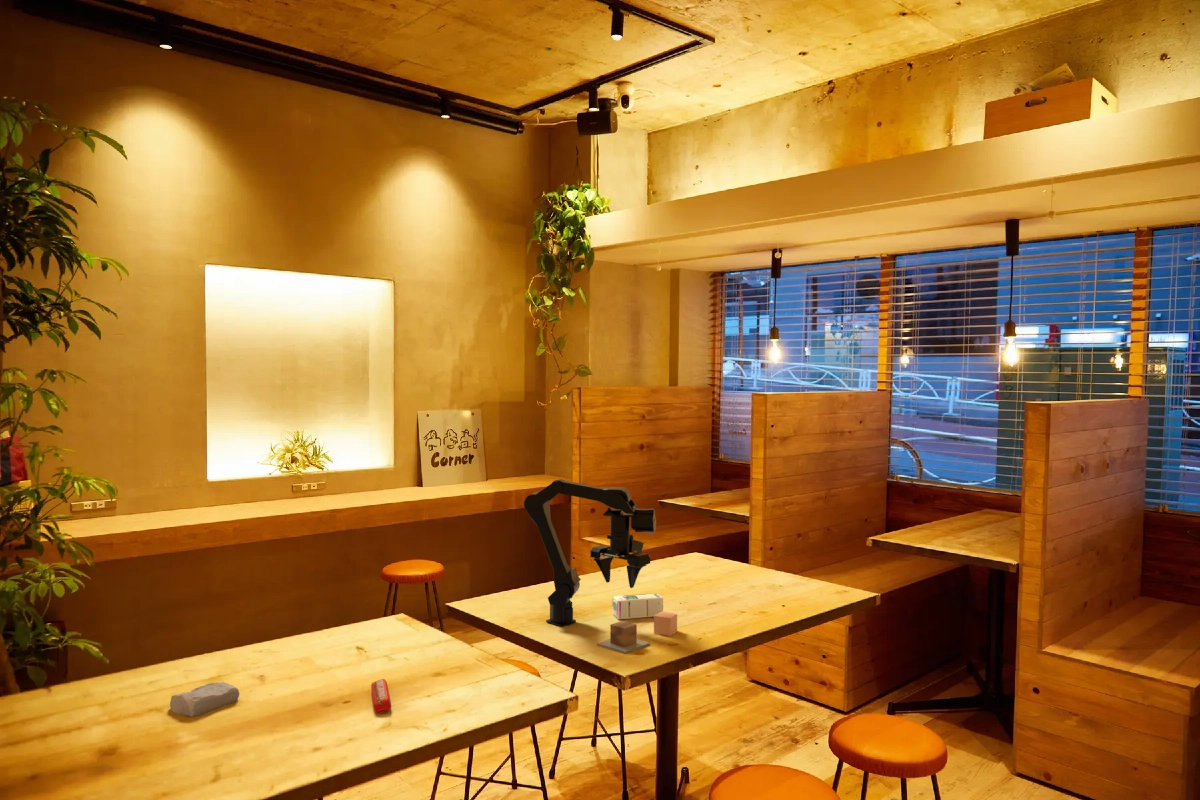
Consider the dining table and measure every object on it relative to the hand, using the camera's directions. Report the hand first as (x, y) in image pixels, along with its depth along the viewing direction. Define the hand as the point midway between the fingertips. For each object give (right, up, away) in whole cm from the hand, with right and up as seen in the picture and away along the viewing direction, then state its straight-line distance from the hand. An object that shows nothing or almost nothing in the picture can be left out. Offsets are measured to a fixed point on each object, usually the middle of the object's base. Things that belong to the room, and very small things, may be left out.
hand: (619, 585), depth 236 cm
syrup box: (+13, -9, +13) cm, 20 cm away
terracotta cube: (+13, -12, -5) cm, 18 cm away
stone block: (-93, -14, -57) cm, 110 cm away
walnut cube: (+1, -12, -17) cm, 20 cm away
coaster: (+1, -12, -17) cm, 21 cm away
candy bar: (-54, -14, -55) cm, 79 cm away
